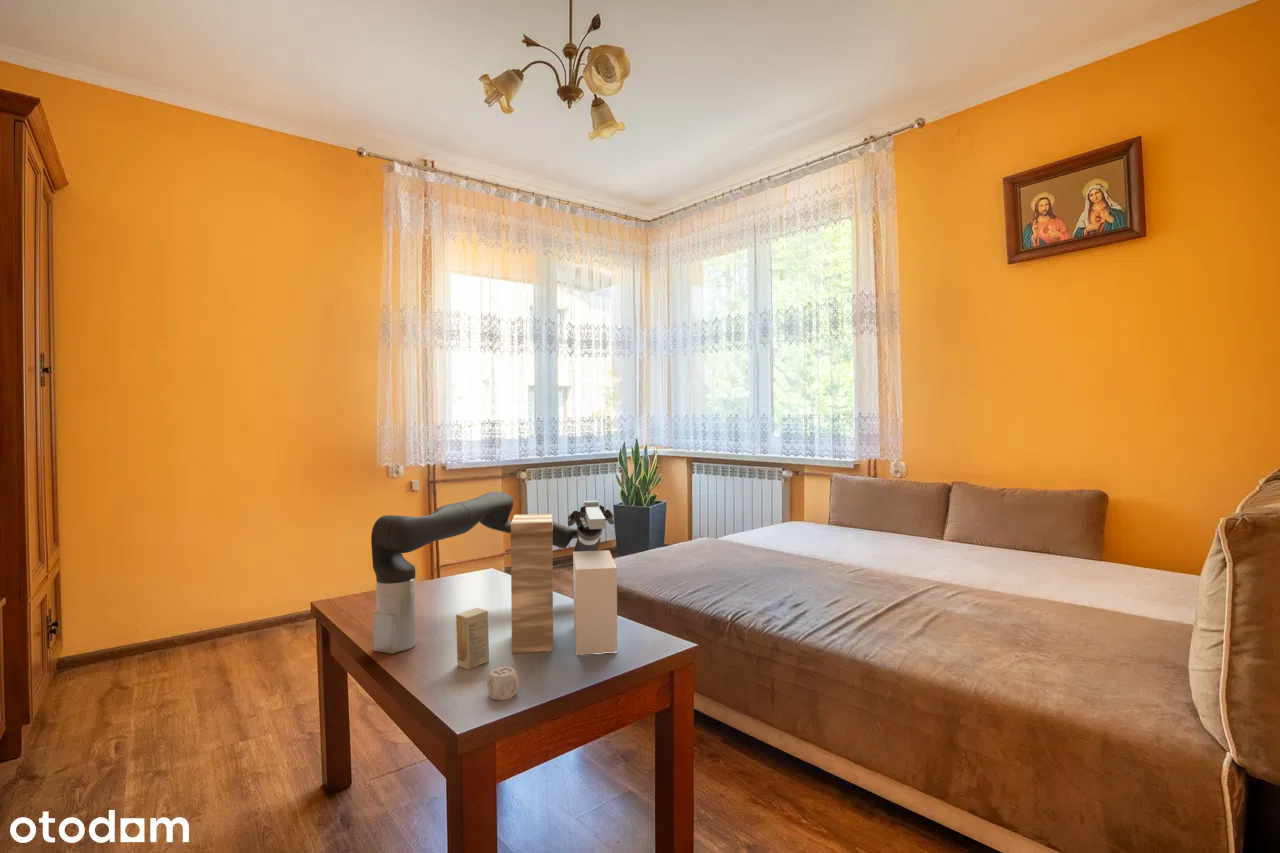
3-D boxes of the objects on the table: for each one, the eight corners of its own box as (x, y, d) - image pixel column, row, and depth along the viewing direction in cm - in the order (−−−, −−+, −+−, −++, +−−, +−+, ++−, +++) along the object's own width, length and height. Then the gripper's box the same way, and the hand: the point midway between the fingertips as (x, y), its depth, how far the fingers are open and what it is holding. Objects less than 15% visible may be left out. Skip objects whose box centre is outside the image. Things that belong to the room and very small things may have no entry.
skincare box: (478, 657, 144) (478, 606, 144) (489, 661, 141) (489, 610, 141) (455, 665, 139) (455, 613, 139) (466, 670, 136) (466, 617, 136)
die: (486, 694, 124) (486, 670, 124) (509, 687, 127) (509, 664, 127) (495, 703, 120) (495, 678, 120) (518, 696, 123) (518, 672, 123)
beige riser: (617, 653, 146) (616, 567, 146) (576, 655, 144) (575, 569, 144) (609, 625, 165) (609, 550, 165) (573, 627, 164) (573, 551, 164)
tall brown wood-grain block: (553, 651, 147) (552, 522, 147) (511, 653, 146) (510, 523, 146) (553, 631, 161) (552, 513, 161) (515, 633, 160) (514, 514, 160)
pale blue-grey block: (605, 528, 149) (605, 513, 149) (589, 529, 148) (589, 514, 148) (597, 513, 172) (597, 500, 172) (584, 513, 172) (583, 500, 172)
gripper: (613, 540, 178) (619, 520, 163) (566, 542, 176) (567, 522, 161) (612, 516, 182) (617, 494, 167) (565, 518, 180) (566, 496, 165)
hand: (592, 508), depth 164 cm, fingers closed on pale blue-grey block, 4 cm apart
